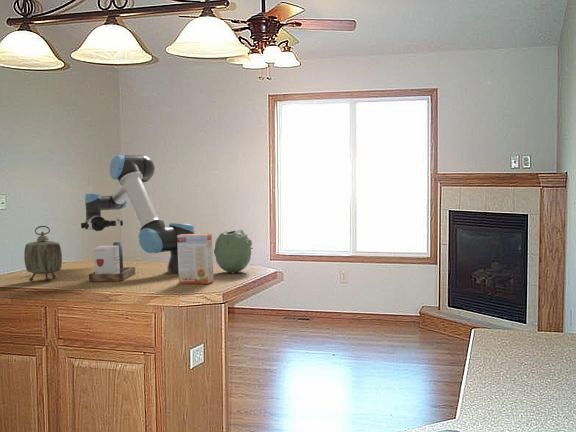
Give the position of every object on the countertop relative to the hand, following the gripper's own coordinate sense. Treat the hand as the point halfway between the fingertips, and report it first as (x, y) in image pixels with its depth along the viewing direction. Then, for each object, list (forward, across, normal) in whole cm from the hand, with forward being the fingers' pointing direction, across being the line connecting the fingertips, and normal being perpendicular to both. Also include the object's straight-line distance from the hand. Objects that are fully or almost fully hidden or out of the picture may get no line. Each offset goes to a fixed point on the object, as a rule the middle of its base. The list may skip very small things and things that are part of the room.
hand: (105, 224), depth 326 cm
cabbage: (+39, -50, -24) cm, 68 cm away
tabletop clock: (+8, +30, -23) cm, 39 cm away
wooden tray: (+19, +2, -24) cm, 30 cm away
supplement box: (+23, +5, -24) cm, 33 cm away
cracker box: (+57, -26, -25) cm, 67 cm away
